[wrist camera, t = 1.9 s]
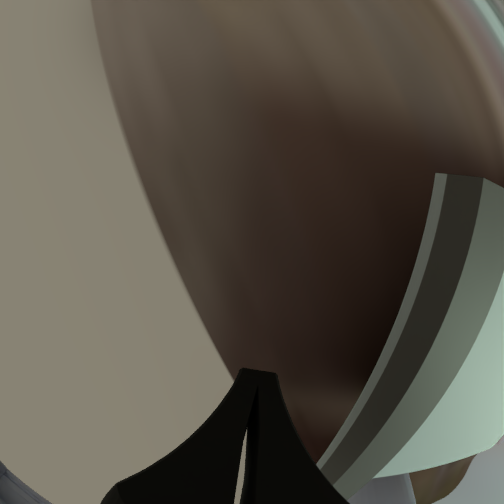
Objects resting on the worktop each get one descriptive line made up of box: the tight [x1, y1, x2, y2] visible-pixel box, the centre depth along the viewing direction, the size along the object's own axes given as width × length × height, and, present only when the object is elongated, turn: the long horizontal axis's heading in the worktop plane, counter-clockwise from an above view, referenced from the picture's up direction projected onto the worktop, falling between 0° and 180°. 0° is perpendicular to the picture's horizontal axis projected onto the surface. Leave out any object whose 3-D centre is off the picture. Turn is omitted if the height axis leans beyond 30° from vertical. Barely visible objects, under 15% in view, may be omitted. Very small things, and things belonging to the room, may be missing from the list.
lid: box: [316, 173, 504, 500], centre depth 9 cm, size 18×18×3 cm
